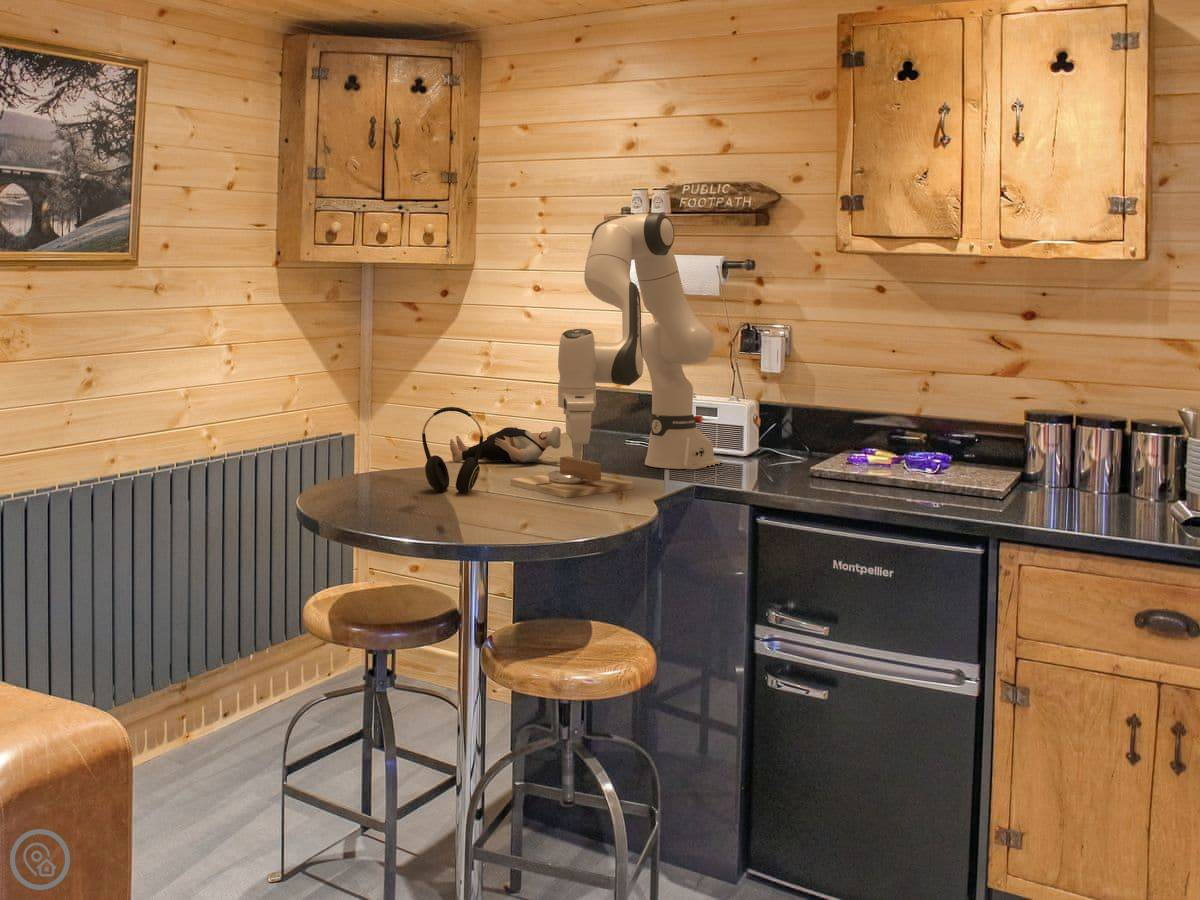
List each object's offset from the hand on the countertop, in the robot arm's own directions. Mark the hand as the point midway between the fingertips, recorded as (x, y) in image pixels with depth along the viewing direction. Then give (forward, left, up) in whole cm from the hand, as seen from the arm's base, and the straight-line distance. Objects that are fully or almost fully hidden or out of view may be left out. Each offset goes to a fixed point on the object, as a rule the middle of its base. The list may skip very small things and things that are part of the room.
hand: (576, 457), depth 264 cm
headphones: (+23, -17, -9) cm, 30 cm away
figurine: (-14, -47, -9) cm, 50 cm away
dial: (-4, -4, -6) cm, 8 cm away
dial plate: (-4, -6, -8) cm, 11 cm away
